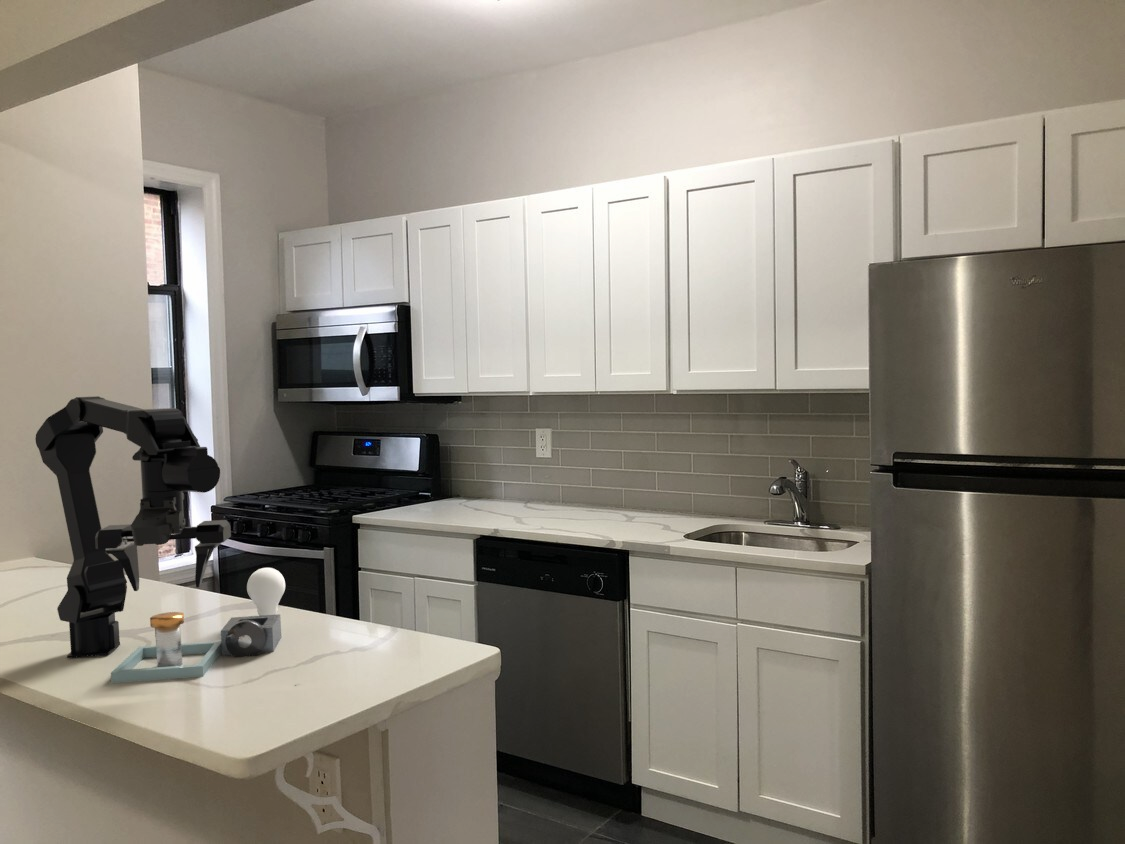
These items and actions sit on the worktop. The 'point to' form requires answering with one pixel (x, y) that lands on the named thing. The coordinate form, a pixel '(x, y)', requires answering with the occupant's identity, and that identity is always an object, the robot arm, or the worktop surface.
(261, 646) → the block
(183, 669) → the tray
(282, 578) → the light bulb
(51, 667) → the worktop surface
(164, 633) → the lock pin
